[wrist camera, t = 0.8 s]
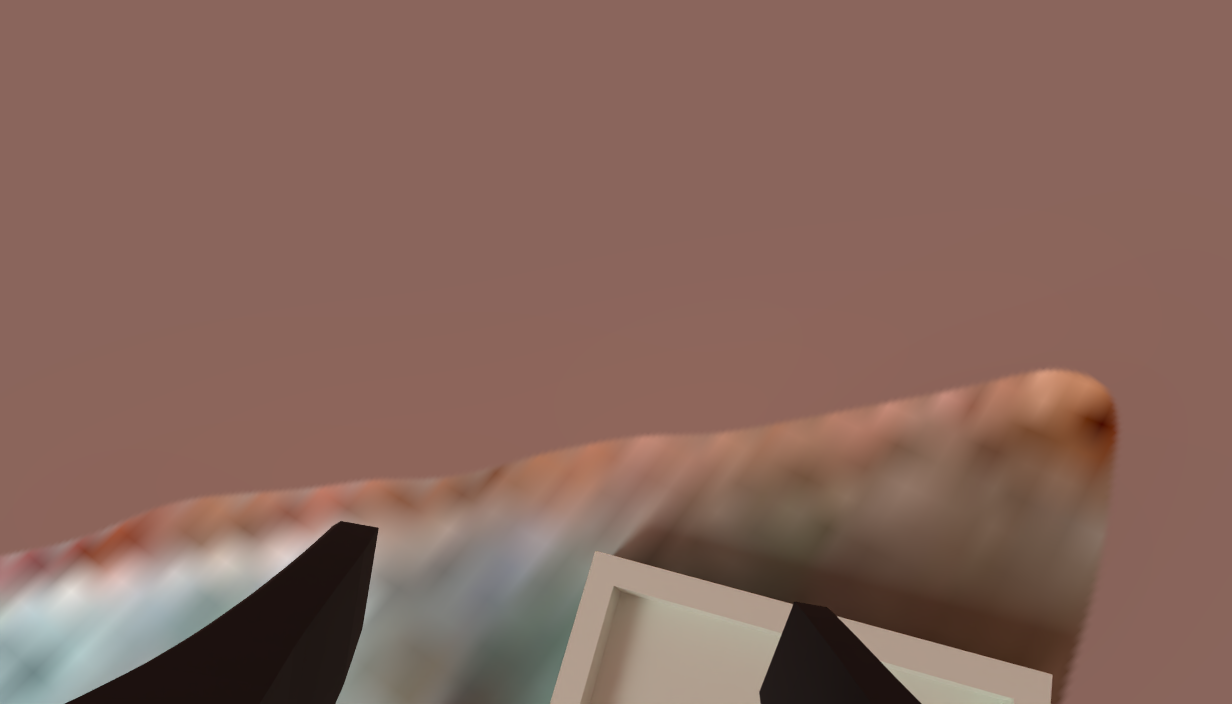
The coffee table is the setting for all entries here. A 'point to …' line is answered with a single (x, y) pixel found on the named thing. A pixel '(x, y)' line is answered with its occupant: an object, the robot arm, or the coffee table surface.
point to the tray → (738, 647)
